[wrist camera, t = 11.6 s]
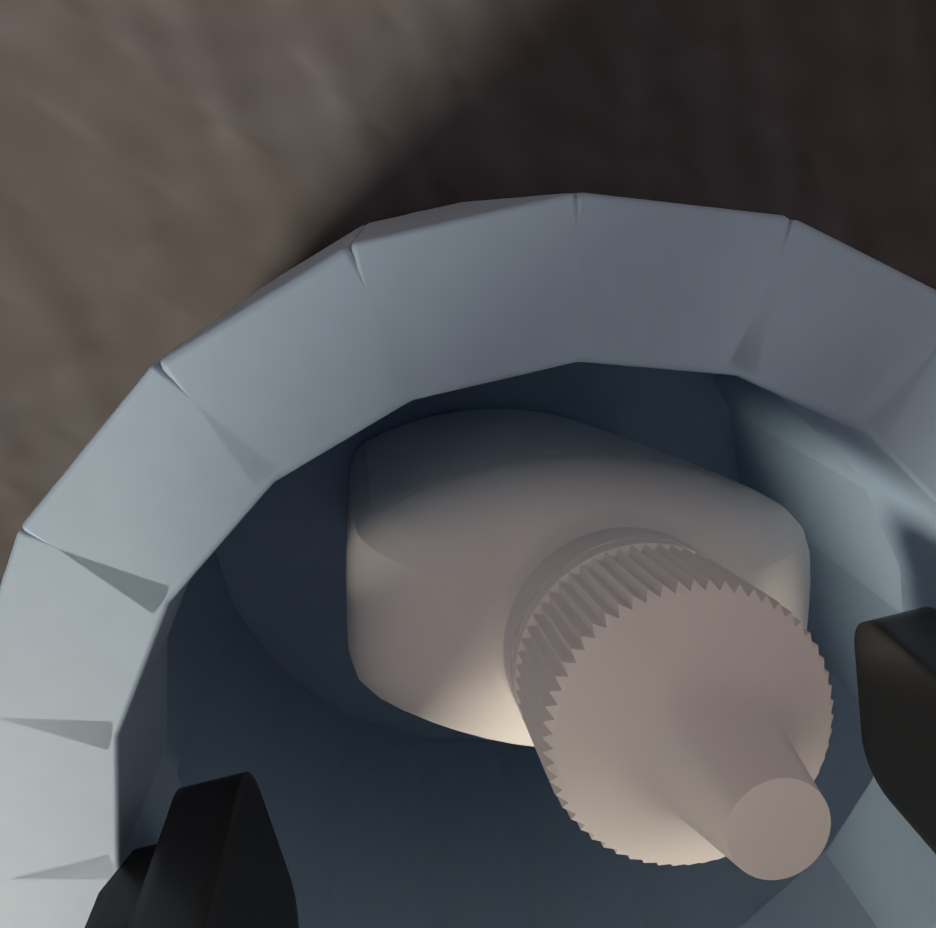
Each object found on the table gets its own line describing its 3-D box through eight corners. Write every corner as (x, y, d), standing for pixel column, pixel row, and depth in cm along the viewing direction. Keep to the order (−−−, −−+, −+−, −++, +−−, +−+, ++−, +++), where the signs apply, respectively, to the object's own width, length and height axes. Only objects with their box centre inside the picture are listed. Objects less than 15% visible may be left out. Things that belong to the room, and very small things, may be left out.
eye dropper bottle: (422, 326, 16) (576, 297, 5) (661, 463, 17) (1280, 720, 6) (315, 521, 17) (207, 951, 5) (556, 645, 18) (937, 1248, 6)
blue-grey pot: (107, 281, 16) (-276, 382, 7) (712, 145, 17) (1159, 60, 7) (279, 792, 20) (189, 1332, 10) (773, 670, 20) (1124, 1079, 11)
